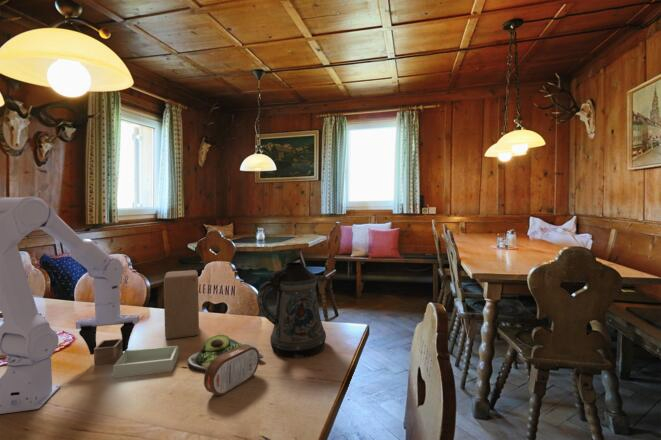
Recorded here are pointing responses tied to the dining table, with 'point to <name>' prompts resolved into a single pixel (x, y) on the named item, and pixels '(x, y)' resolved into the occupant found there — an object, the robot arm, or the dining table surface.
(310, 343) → the beer stein
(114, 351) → the walnut crate
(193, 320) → the wooden block
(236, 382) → the tin
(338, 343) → the dining table surface
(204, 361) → the salad plate
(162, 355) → the sage crate
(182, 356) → the dining table surface
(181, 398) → the dining table surface
